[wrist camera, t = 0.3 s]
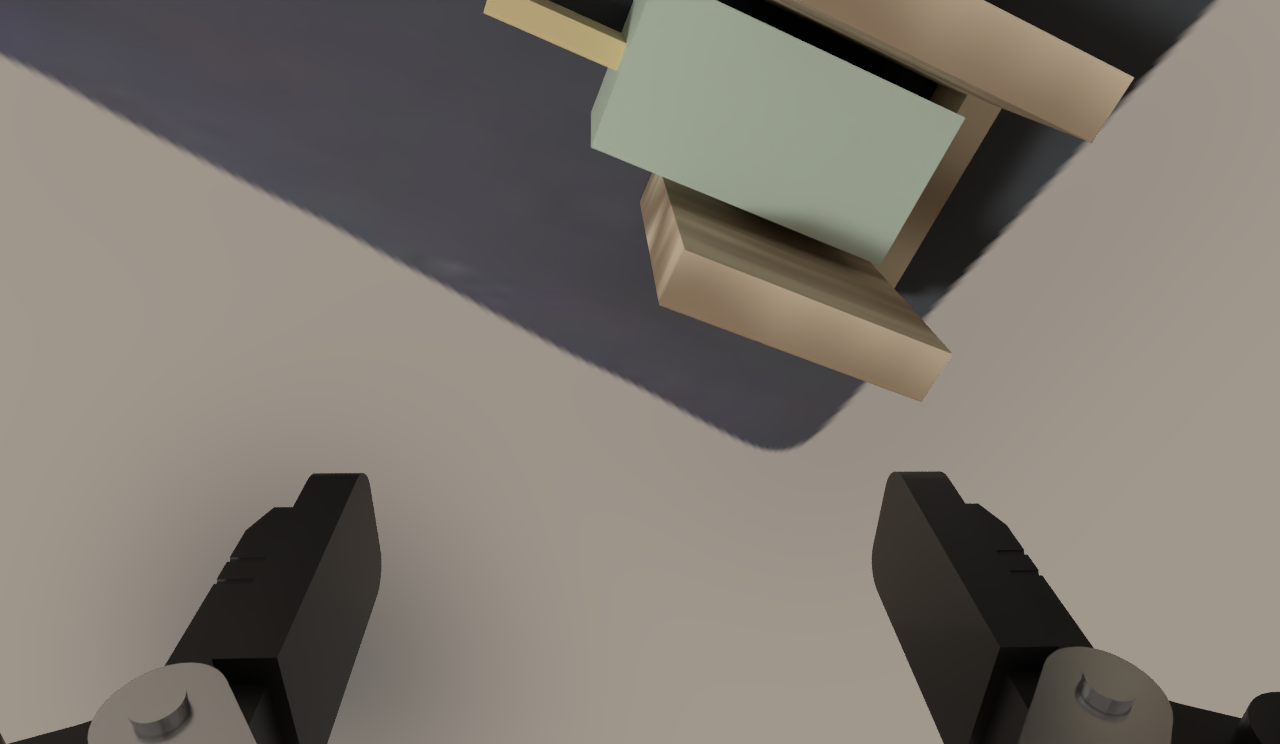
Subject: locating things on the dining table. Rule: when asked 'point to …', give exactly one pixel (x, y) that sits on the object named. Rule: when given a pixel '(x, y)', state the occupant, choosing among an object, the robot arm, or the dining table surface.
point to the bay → (863, 291)
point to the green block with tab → (753, 117)
